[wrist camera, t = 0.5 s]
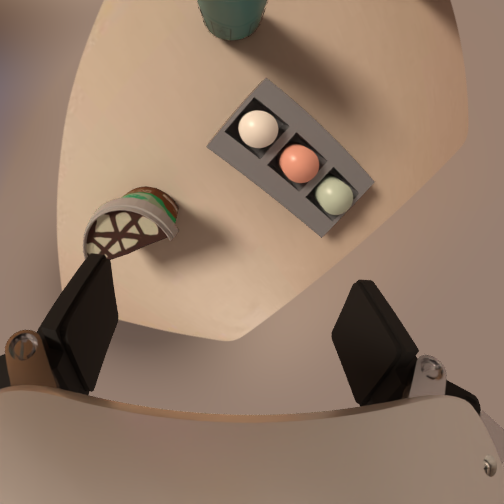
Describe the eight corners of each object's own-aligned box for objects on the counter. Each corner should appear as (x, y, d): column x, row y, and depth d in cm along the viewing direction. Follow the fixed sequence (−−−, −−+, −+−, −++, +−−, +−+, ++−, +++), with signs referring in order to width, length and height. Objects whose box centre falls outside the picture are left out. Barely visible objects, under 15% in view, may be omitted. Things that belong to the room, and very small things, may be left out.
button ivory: (253, 103, 28) (256, 103, 25) (279, 124, 30) (286, 127, 26) (230, 129, 30) (230, 132, 26) (257, 149, 31) (261, 155, 28)
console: (261, 81, 29) (266, 77, 25) (359, 172, 35) (374, 182, 31) (209, 141, 32) (206, 146, 28) (312, 223, 39) (321, 237, 35)
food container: (170, 163, 33) (149, 184, 24) (188, 204, 36) (175, 239, 27) (95, 199, 34) (61, 229, 25) (114, 235, 37) (87, 273, 29)
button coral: (292, 135, 31) (300, 139, 27) (315, 157, 32) (326, 164, 29) (270, 160, 32) (275, 167, 28) (294, 180, 33) (302, 190, 30)
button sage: (326, 167, 33) (338, 175, 29) (346, 187, 34) (359, 197, 31) (305, 190, 34) (314, 200, 31) (326, 209, 36) (336, 221, 32)
